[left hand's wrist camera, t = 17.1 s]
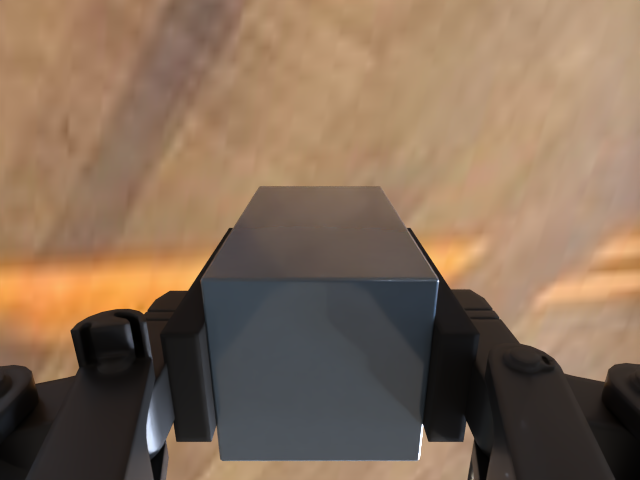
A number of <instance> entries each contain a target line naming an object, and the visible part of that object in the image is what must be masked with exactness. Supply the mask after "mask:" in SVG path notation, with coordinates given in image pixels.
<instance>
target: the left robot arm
mask: <svg viewBox="0 0 640 480" xmlns="http://www.w3.org/2000/svg"><path fill="white" fill-rule="evenodd" d="M232 229H233V228H229V229H228V231H227V232H226V234H225V235H224V237H223V239H222V240H221V242H220V243H219V245H218V246H217V248H216V249H215V251H214V252H213V254H212V255H211V257H210V258H209V260H208V261H207V263H206V264H205V266H204V267H203V269H202V270H201V272H200V274H199V275H198V277H197V278H196V280H195V281H194V283H193V284H192V286H191V287H190V289H189V290H188V291H169V292H167V293H166V294H164V295H163V296H161V297H159V298H158V299H156V300H155V301H154V303H153V304H152V305H151V306H150V308H149V309H148V312H146V313H145V314H142V313H141V312H140V311H136V310H132V309H115V310H110V311H105V312H101V313H98V314H95V315H92V316H90V317H88V318H86V319H84V320H82V321H81V322H79V323H77V324H76V325H75V327H74V328H73V329H72V330H71V335H72V339H73V343H74V347H75V351H76V356H77V360H78V364H79V369H78V371H77V374H76V376H72V377H68V378H63V379H58V380H53V381H48V382H43V383H38V384H35V382H34V378H33V375H32V371H30V370H29V369H28V368H26V367H24V366H17V365H10V366H0V480H166V474H167V466H168V458H169V457H168V450H167V444H166V438H167V436H168V433H169V431H170V429H171V426H172V424H173V422H174V429H175V435H176V442H211V441H212V438H213V434H214V431H215V428H216V425H217V424H216V415H215V406H214V397H213V388H212V379H211V370H210V361H209V352H208V342H207V333H206V324H205V317H204V308H203V299H202V290H201V278H202V276H203V275H204V273H205V272H206V270H207V268H208V267H209V265H210V264H211V262H212V261H213V259H214V257H215V256H216V254H217V253H218V251H219V250H220V248H221V246H222V245H223V243H224V242H225V240H226V238H227V237H228V235H229V234H230V232H231V231H232ZM407 229H408V231H409V233H410V234H411V236H412V237H413V239H414V241H415V242H416V244H417V245H418V247H419V248H420V250H421V252H422V253H423V255H424V256H425V258H426V260H427V261H428V263H429V264H430V266H431V268H432V269H433V271H434V272H435V274H436V275H437V277H438V279H439V286H438V295H437V304H436V313H435V321H434V330H433V339H432V348H431V357H430V366H429V376H428V385H427V394H426V403H425V412H424V421H423V426H424V429H425V432H426V435H427V439H428V442H463V440H464V434H465V427H466V421H467V423H468V425H469V427H470V430H471V432H472V434H473V436H474V444H473V450H472V456H471V462H470V468H469V474H468V480H640V364H630V363H623V364H616V365H614V366H613V367H611V368H610V369H609V370H608V373H607V377H606V380H605V382H601V381H596V380H591V379H586V378H581V377H576V376H571V375H568V374H564V373H563V371H562V369H561V367H560V366H559V364H558V363H557V362H556V361H555V359H554V358H552V357H551V356H549V355H548V354H546V353H545V352H543V351H541V350H538V349H536V348H534V347H531V346H527V345H523V344H520V343H519V342H518V340H517V339H516V338H515V337H514V335H513V334H512V333H511V332H510V330H509V329H508V328H507V327H506V325H505V324H504V323H503V321H502V320H501V319H499V316H498V315H497V314H496V313H495V311H492V308H491V306H490V305H489V304H488V303H487V301H486V300H485V299H484V298H483V297H481V296H480V295H478V294H476V293H475V292H473V291H471V290H451V289H450V288H449V286H448V285H447V283H446V282H445V280H444V279H443V277H442V275H441V274H440V272H439V271H438V269H437V268H436V266H435V265H434V263H433V262H432V260H431V259H430V257H429V256H428V254H427V253H426V251H425V250H424V248H423V247H422V245H421V243H420V242H419V240H418V239H417V237H416V236H415V234H414V233H413V231H412V230H411V228H407Z"/></svg>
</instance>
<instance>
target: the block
mask: <svg viewBox="0 0 640 480" xmlns="http://www.w3.org/2000/svg"><path fill="white" fill-rule="evenodd" d="M438 286H439V279H438V277H437V275H436V274H435V272H434V271H433V269H432V268H431V266H430V264H429V263H428V261H427V260H426V258H425V256H424V255H423V253H422V252H421V250H420V248H419V247H418V245H417V244H416V242H415V241H414V239H413V237H412V236H411V234H410V233H409V231H408V229H407V228H406V226H405V225H404V223H403V222H402V220H401V218H400V217H399V215H398V214H397V212H396V210H395V209H394V207H393V206H392V204H391V202H390V201H389V199H388V198H387V196H386V195H385V193H384V191H383V190H382V188H381V187H380V186H260V187H259V188H258V189H257V191H256V193H255V194H254V196H253V197H252V199H251V201H250V202H249V204H248V205H247V207H246V208H245V210H244V212H243V213H242V215H241V216H240V218H239V219H238V221H237V223H236V224H235V226H234V227H233V229H232V231H231V232H230V234H229V235H228V237H227V238H226V240H225V242H224V243H223V245H222V246H221V248H220V250H219V251H218V253H217V254H216V256H215V257H214V259H213V261H212V262H211V264H210V265H209V267H208V268H207V270H206V272H205V273H204V275H203V276H202V278H201V290H202V299H203V308H204V317H205V324H206V333H207V342H208V352H209V361H210V370H211V379H212V388H213V397H214V406H215V415H216V424H217V425H216V426H217V435H218V444H219V453H220V459H221V460H222V461H418V460H419V458H420V450H421V441H422V431H423V421H424V412H425V403H426V394H427V385H428V376H429V366H430V357H431V348H432V339H433V330H434V321H435V313H436V304H437V295H438Z"/></svg>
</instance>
